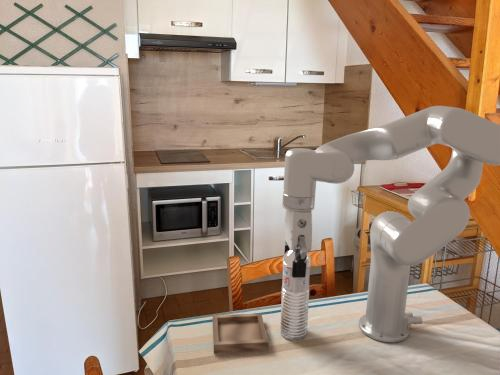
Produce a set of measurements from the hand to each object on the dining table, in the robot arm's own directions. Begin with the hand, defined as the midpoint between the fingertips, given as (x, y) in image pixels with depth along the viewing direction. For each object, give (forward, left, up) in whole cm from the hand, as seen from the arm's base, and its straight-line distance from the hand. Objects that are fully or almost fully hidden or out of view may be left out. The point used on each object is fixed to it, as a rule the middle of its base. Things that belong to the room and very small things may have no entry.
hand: (294, 268), depth 106 cm
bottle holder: (+13, 0, -18) cm, 23 cm away
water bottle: (-1, 0, -18) cm, 18 cm away
